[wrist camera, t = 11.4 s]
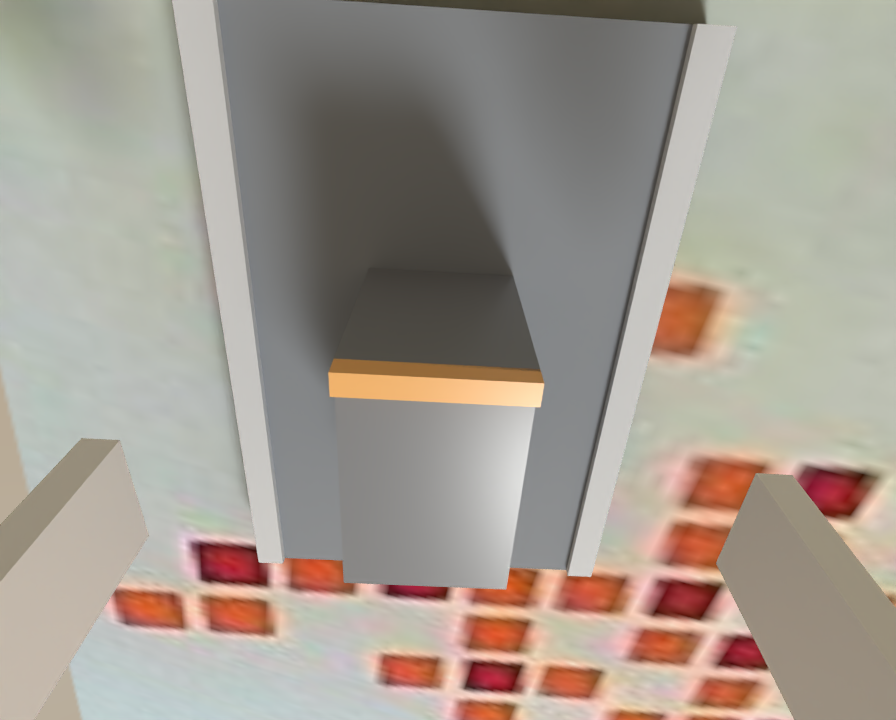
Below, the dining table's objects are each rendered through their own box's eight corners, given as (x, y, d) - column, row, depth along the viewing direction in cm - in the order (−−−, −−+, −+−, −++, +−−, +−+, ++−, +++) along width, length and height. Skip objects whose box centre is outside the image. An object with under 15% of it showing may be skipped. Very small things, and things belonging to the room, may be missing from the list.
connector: (369, 267, 17) (328, 372, 11) (513, 275, 17) (544, 383, 11) (371, 500, 22) (343, 657, 16) (485, 505, 22) (498, 663, 16)
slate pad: (199, -5, 15) (170, -12, 13) (707, 29, 15) (736, 26, 14) (271, 530, 25) (258, 562, 23) (582, 543, 25) (591, 576, 23)
